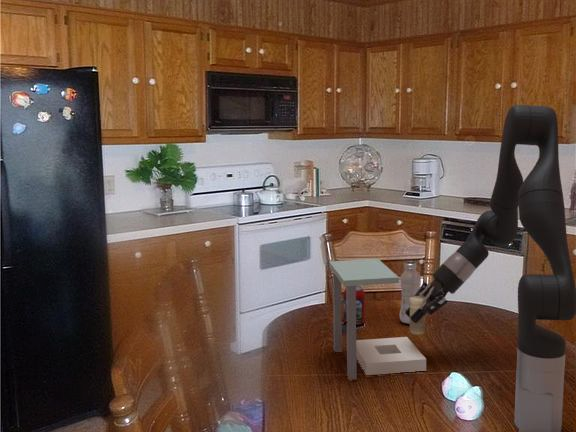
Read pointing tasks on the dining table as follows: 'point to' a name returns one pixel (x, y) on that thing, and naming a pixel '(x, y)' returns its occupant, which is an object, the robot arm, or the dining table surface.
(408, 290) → the plastic bottle
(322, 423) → the dining table surface
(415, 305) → the peg
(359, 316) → the beverage can
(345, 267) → the two-legged shelf table
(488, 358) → the dining table surface
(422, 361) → the socket
